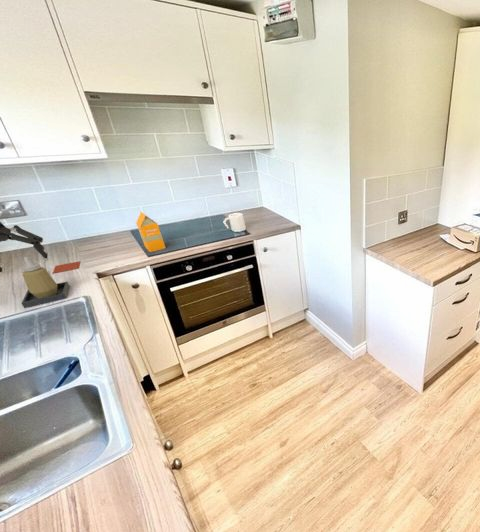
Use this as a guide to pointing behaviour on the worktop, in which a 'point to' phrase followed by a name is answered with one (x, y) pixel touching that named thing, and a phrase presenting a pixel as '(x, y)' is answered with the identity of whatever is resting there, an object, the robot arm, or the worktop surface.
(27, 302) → the tray
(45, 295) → the squeeze bottle
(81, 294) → the worktop surface
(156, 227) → the orange juice
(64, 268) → the mat
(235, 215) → the mug
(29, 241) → the robot arm
